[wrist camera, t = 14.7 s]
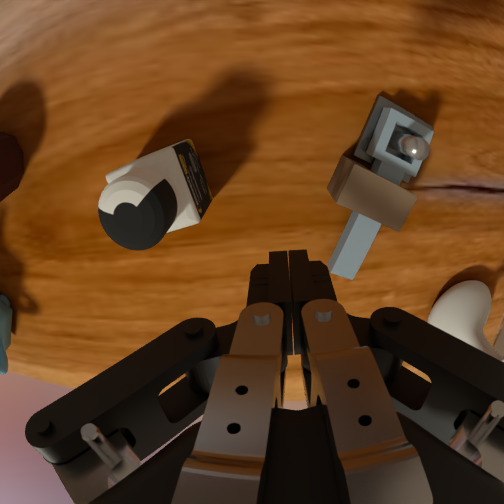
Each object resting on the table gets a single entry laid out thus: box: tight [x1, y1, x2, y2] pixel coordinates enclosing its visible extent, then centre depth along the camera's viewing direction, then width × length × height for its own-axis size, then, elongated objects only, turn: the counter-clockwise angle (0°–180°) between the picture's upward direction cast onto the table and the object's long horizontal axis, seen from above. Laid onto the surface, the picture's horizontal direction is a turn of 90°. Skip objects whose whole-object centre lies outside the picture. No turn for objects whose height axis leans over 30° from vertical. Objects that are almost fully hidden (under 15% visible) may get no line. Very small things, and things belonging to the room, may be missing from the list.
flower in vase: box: [427, 280, 504, 362], centre depth 27 cm, size 13×11×25 cm
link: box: [328, 107, 434, 280], centre depth 30 cm, size 18×5×2 cm, turn 162°
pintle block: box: [352, 95, 433, 183], centre depth 26 cm, size 7×7×7 cm
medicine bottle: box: [98, 139, 213, 250], centre depth 27 cm, size 7×7×12 cm
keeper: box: [327, 155, 418, 232], centre depth 29 cm, size 4×7×5 cm, turn 69°
